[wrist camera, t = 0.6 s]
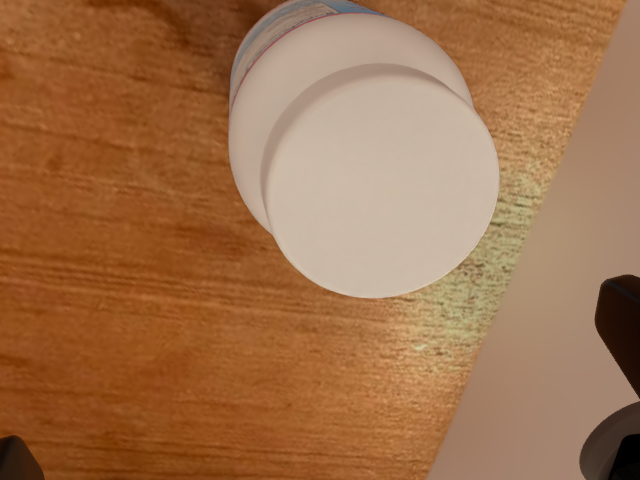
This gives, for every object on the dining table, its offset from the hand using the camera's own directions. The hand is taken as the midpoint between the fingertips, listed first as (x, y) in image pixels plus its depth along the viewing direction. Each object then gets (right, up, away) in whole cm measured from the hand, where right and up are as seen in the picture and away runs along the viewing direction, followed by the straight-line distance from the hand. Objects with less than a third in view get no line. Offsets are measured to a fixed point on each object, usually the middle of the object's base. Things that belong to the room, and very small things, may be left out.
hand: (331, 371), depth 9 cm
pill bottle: (0, +8, +12) cm, 15 cm away
